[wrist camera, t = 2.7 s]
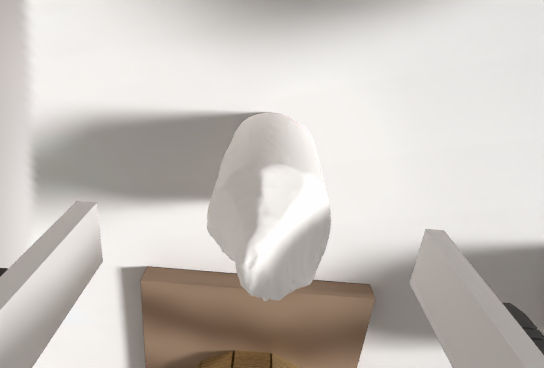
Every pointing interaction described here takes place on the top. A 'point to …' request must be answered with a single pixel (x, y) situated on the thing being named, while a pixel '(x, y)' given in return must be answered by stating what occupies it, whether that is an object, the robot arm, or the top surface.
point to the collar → (245, 360)
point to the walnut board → (250, 320)
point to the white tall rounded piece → (271, 206)
